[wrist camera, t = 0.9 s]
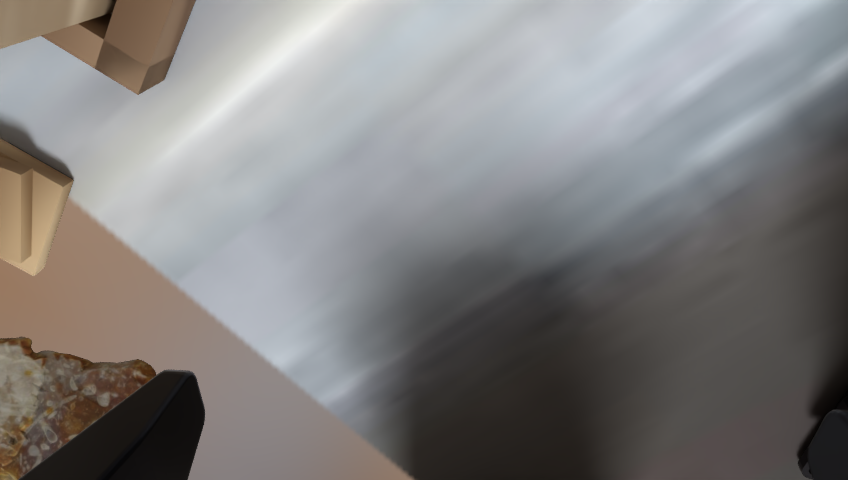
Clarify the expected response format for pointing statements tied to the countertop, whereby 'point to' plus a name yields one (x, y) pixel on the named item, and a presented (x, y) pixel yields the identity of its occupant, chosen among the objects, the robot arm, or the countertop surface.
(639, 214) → the countertop surface
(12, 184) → the oak offcuts
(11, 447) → the decorative stone
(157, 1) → the walnut rack
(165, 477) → the robot arm
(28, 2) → the tan wooden block
